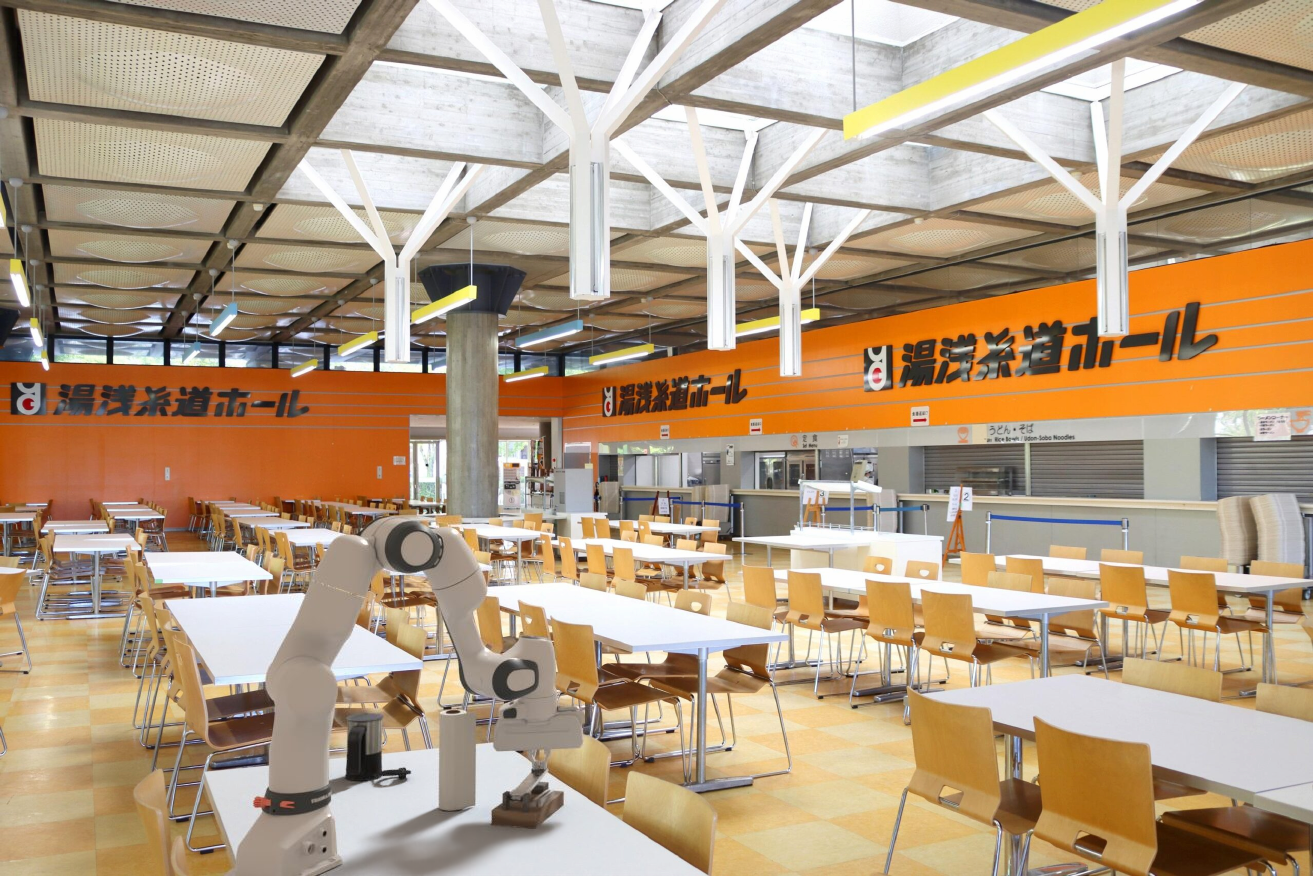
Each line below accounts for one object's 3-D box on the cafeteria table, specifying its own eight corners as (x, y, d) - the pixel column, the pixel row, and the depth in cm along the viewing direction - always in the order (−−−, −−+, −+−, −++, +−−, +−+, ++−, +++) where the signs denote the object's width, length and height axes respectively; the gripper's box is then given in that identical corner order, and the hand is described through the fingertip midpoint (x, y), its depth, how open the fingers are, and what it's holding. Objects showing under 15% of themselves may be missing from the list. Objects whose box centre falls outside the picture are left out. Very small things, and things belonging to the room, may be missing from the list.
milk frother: (345, 773, 258) (345, 713, 259) (408, 768, 262) (409, 710, 263) (344, 788, 244) (345, 726, 245) (411, 783, 249) (412, 721, 249)
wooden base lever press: (535, 828, 214) (535, 797, 215) (491, 824, 217) (491, 793, 217) (563, 804, 231) (563, 775, 231) (522, 801, 233) (523, 772, 234)
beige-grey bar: (521, 802, 216) (521, 795, 216) (508, 801, 217) (508, 794, 217) (548, 772, 231) (548, 765, 231) (536, 771, 232) (535, 764, 232)
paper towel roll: (432, 809, 228) (433, 712, 229) (450, 802, 233) (451, 707, 234) (458, 814, 224) (459, 715, 225) (475, 806, 230) (476, 710, 231)
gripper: (584, 702, 233) (586, 763, 232) (494, 705, 232) (496, 766, 232) (583, 708, 227) (585, 771, 226) (491, 712, 226) (492, 775, 226)
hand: (539, 769), depth 229 cm, fingers closed, pressing on beige-grey bar
